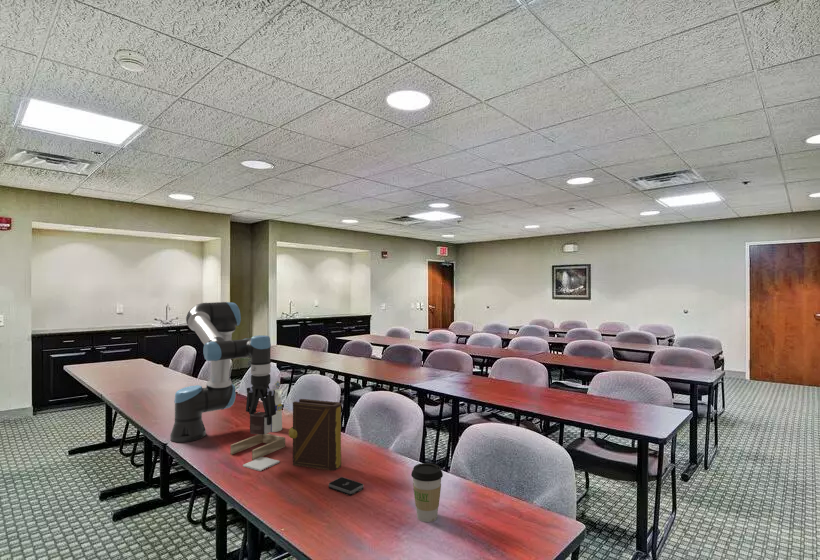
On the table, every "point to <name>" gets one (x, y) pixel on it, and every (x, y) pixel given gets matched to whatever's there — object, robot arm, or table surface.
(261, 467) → the tile
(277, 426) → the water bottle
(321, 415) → the book
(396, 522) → the table surface
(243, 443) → the wooden frame
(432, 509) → the coffee cup
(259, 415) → the box
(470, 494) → the table surface
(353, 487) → the external hard drive
